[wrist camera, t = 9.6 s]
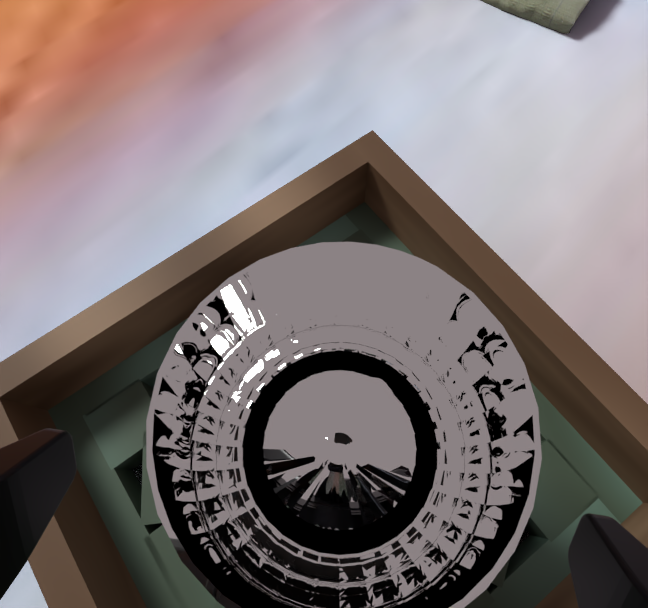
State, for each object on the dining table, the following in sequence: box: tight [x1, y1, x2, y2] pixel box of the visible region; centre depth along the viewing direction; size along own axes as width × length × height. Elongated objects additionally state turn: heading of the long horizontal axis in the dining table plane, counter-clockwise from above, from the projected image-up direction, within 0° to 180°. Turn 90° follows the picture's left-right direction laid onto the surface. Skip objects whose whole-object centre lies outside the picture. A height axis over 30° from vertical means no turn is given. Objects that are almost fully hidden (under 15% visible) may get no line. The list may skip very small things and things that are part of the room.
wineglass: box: [146, 242, 542, 608], centre depth 11 cm, size 6×6×12 cm
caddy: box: [0, 130, 648, 608], centre depth 15 cm, size 16×16×4 cm
